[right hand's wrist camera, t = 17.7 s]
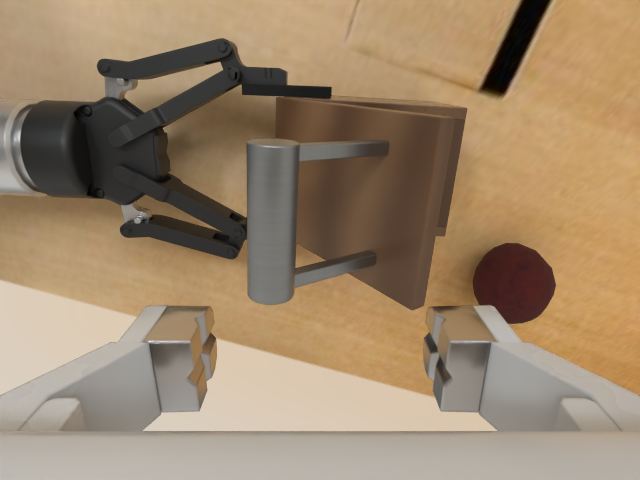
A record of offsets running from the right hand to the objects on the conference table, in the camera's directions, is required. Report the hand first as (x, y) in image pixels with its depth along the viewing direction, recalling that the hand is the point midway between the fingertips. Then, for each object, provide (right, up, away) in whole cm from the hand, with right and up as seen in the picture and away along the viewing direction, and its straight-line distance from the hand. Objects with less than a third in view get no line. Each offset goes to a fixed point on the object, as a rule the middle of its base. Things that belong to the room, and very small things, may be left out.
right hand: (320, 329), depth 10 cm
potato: (+19, -1, +33) cm, 38 cm away
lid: (+2, +5, +15) cm, 16 cm away
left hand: (+1, +9, +23) cm, 25 cm away
